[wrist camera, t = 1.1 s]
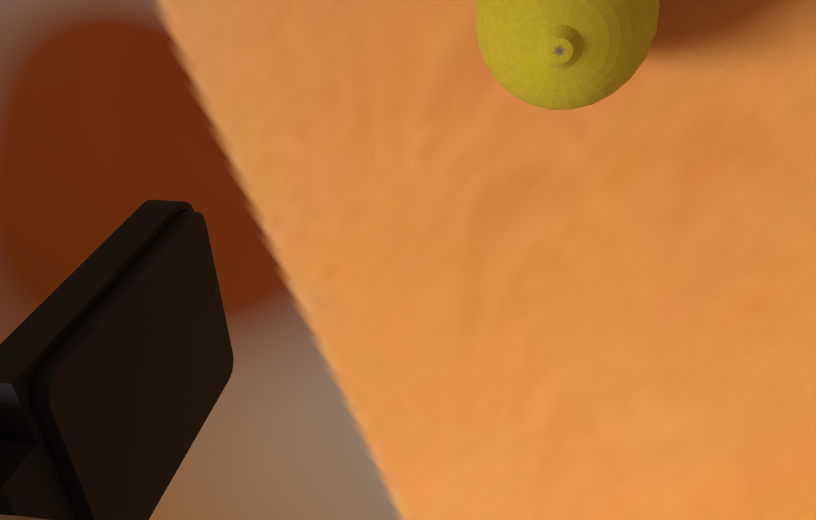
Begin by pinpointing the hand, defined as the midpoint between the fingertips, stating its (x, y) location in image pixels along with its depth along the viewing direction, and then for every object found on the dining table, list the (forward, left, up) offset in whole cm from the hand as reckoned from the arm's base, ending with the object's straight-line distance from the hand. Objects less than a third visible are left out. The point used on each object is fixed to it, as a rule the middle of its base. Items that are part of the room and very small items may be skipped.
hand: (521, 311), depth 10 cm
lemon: (0, 0, -20) cm, 20 cm away
